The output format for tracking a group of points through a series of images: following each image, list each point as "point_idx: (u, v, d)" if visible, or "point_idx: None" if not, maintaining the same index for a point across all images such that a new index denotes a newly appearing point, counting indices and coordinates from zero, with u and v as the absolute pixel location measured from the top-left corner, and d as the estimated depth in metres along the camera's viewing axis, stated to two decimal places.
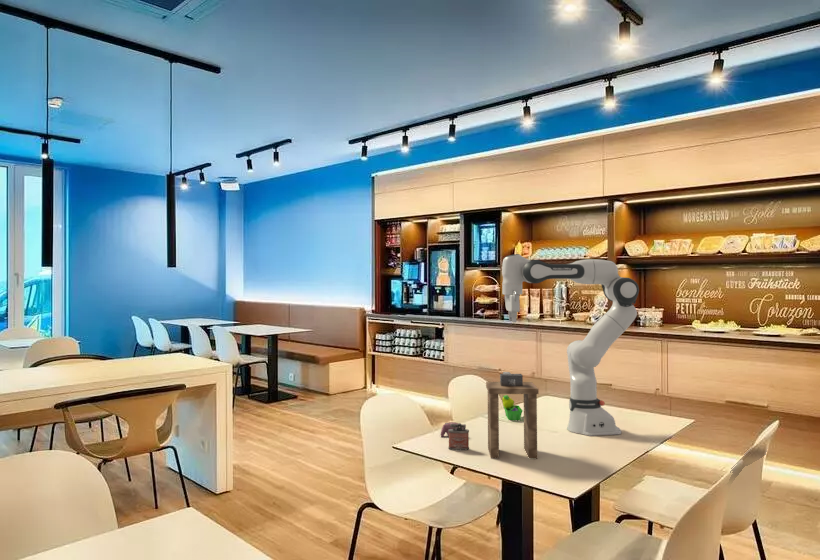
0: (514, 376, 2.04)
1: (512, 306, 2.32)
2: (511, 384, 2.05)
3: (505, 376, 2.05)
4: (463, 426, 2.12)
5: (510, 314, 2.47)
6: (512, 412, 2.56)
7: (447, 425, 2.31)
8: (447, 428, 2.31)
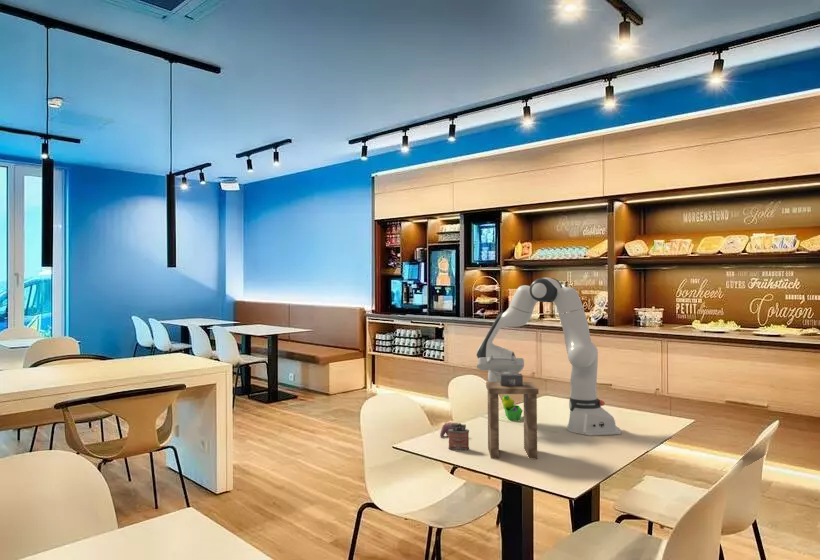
0: (514, 376, 2.04)
1: (478, 365, 2.43)
2: (511, 384, 2.05)
3: (505, 376, 2.05)
4: (463, 426, 2.12)
5: None
6: (512, 412, 2.56)
7: (447, 425, 2.31)
8: (447, 428, 2.31)
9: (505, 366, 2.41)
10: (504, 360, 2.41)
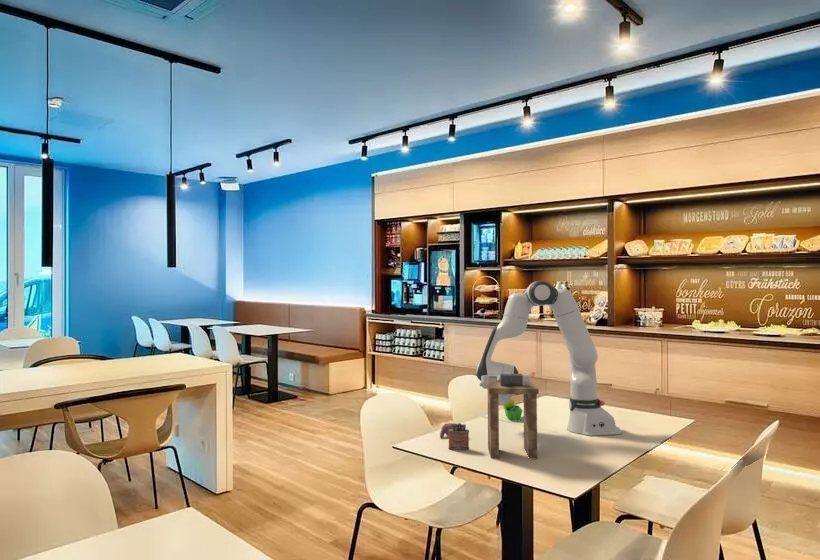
0: (514, 376, 2.04)
1: (481, 384, 2.25)
2: (511, 384, 2.05)
3: (505, 376, 2.05)
4: (463, 426, 2.12)
5: None
6: (512, 412, 2.56)
7: (446, 426, 2.30)
8: (446, 429, 2.30)
9: None
10: None
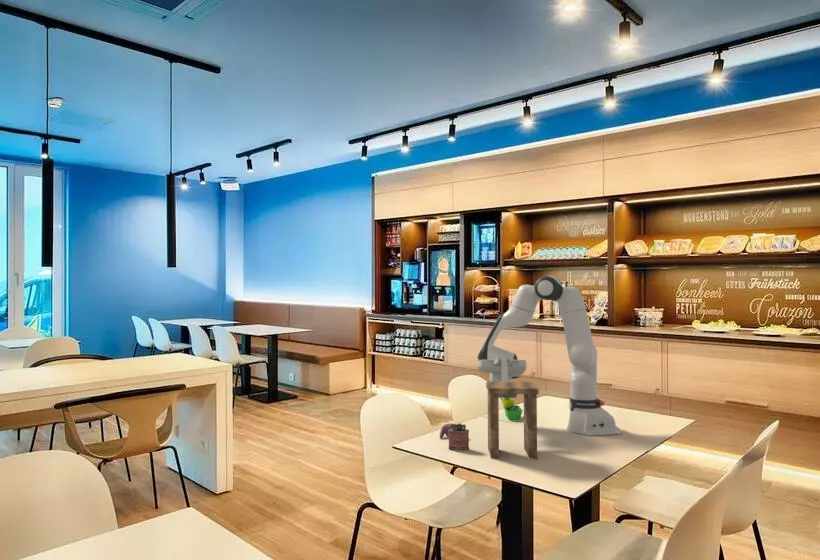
0: (509, 394, 2.21)
1: (479, 368, 2.36)
2: (505, 397, 2.23)
3: (501, 394, 2.21)
4: (463, 426, 2.12)
5: None
6: (512, 412, 2.56)
7: (446, 426, 2.29)
8: (446, 429, 2.29)
9: None
10: None
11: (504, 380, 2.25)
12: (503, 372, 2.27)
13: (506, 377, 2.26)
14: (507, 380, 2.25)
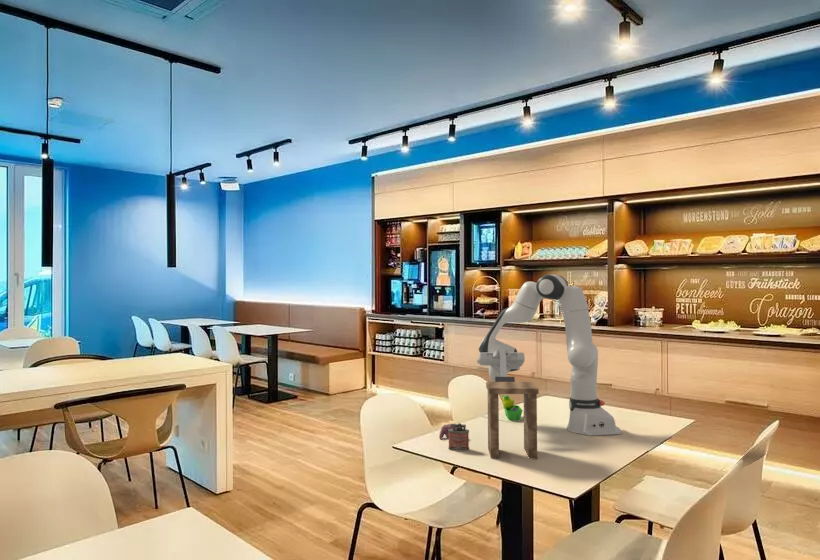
0: None
1: (478, 360, 2.41)
2: None
3: None
4: (463, 426, 2.12)
5: None
6: (512, 412, 2.56)
7: (446, 427, 2.28)
8: (446, 430, 2.28)
9: None
10: None
11: (502, 372, 2.30)
12: (502, 364, 2.32)
13: (504, 369, 2.31)
14: (505, 372, 2.30)
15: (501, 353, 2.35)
